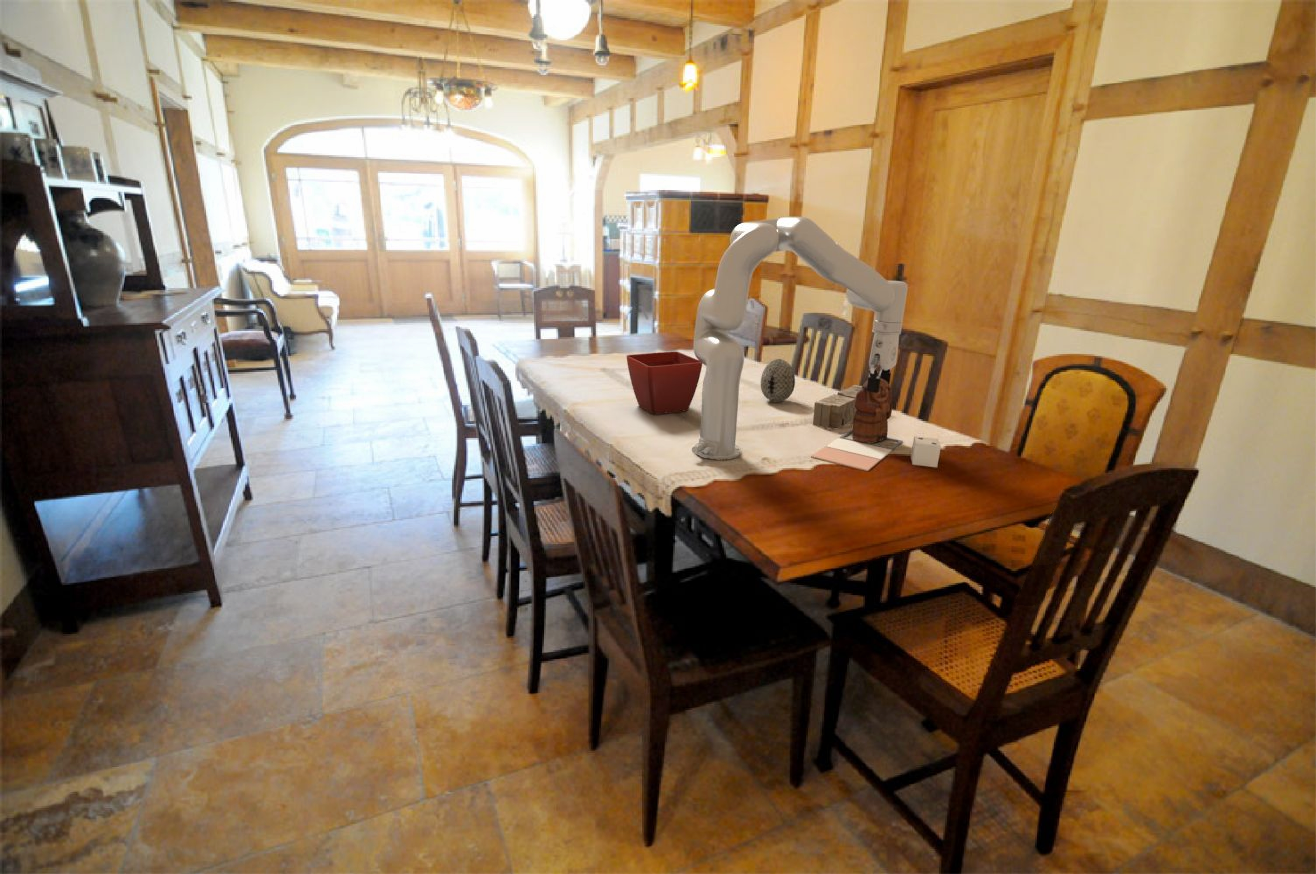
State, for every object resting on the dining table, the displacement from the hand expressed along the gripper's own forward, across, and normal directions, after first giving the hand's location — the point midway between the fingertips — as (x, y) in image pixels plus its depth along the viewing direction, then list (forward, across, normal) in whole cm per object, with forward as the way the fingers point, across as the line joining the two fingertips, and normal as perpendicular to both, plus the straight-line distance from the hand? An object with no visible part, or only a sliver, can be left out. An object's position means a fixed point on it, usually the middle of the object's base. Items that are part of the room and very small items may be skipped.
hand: (878, 388), depth 179 cm
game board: (+16, -10, 0) cm, 18 cm away
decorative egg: (+16, +19, +40) cm, 47 cm away
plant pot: (+16, -14, +65) cm, 68 cm away
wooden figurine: (+15, 0, 0) cm, 15 cm away
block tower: (+16, +17, +15) cm, 28 cm away
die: (+16, -8, -17) cm, 25 cm away
